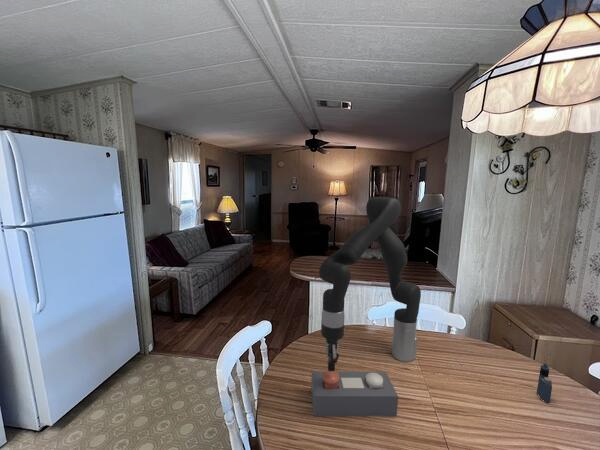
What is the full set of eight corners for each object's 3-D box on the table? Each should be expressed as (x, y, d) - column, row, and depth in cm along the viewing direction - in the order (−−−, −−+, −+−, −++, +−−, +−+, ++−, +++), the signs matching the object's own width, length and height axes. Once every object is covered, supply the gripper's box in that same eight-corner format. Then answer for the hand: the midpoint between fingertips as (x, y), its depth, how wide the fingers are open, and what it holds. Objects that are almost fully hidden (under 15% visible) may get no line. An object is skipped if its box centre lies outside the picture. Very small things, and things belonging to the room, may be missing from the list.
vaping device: (543, 393, 102) (548, 363, 100) (551, 404, 97) (556, 372, 95) (535, 392, 103) (539, 361, 101) (542, 402, 98) (546, 370, 96)
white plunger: (378, 392, 99) (380, 372, 98) (383, 404, 93) (385, 383, 92) (363, 392, 98) (364, 372, 97) (367, 404, 93) (368, 383, 92)
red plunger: (336, 389, 98) (337, 370, 97) (339, 402, 92) (340, 381, 91) (320, 389, 98) (321, 370, 97) (322, 402, 92) (323, 381, 91)
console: (384, 389, 102) (385, 371, 101) (396, 416, 90) (398, 395, 89) (311, 389, 101) (311, 371, 100) (313, 416, 89) (314, 395, 88)
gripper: (348, 331, 85) (345, 383, 87) (340, 312, 98) (338, 357, 101) (323, 331, 85) (322, 383, 87) (319, 312, 98) (318, 357, 100)
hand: (331, 369), depth 94 cm, fingers closed
